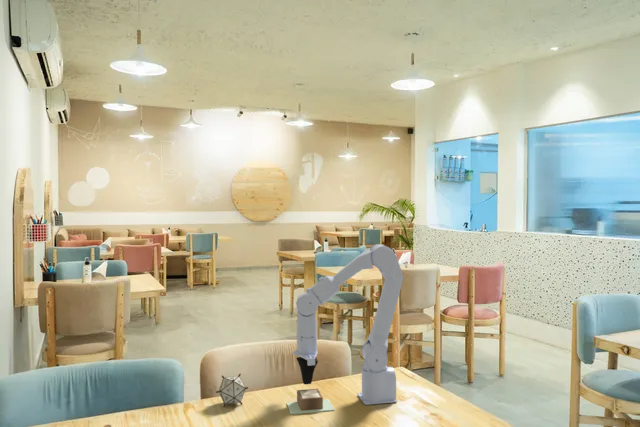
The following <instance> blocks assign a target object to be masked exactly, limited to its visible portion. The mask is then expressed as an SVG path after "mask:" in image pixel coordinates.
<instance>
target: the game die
mask: <svg viewBox="0 0 640 427" xmlns="http://www.w3.org/2000/svg"><path fill="white" fill-rule="evenodd" d="M241 375H242V374H241V372H240V373H239V374H238V375H236V376H235V375H234V376H224V375H221V378H222V379H221V384H220V386H219V389H218V390H216V391H215V393H216V394H218V395H220V398H221V400H222V402H223V403H224V404H223V408H224V407H226V405H232V404H238V403H239V404H240V405H243V402H242V400H243V397H244V395H245V393H246V390H248V389H249V387H248V386H245V384H244V382H243V380H242V379H241Z"/></svg>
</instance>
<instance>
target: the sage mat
mask: <svg viewBox="0 0 640 427" xmlns="http://www.w3.org/2000/svg"><path fill="white" fill-rule="evenodd" d="M286 405H287V408H288V411H289V413H290V415H298V414H300V415H301V414H310V413H311V414H312V413H321V412H322V413H323V412H332V411H333V412H334V411H335V408H334V406H333V405H332V402H331V401H330V399H328V398H325V399H323V409H314V410H302V411H301V409H300V407H299V405H298V402H297V401H291V402H290V401H289V402H286Z"/></svg>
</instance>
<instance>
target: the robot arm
mask: <svg viewBox="0 0 640 427" xmlns="http://www.w3.org/2000/svg"><path fill="white" fill-rule="evenodd" d="M374 266H375V268H377V269H378V270H379V272H380V274H381V275H382V278H384V281H383V286H382V289H381V294H380V297H379V301H378V303H377V304H378V305H377V308H376V312H375V316H374V319H373V323H372V327H371V331H370V333H369V334H368V336H367V339H366V341H365V343H363V345H362V347H361V356H362V358H363V359H364V361H363V363H362V365H361V392H358V393H357V397H358V398H359V399H360V400H361V401H362V403H363V404H364V405H365V406H366V405H367V406H370V405H380V404H390V403H397V402H398V400H397V377H396V376H397V375H396V371H395V368H393V366H388V362H389V361H388V360H389V359H388V354H387V353H388V348H389V343H388V342H389V334H390V330H391V327H392V323H393V319H394V316H395V312H396V309H397V305H398V304H397V303H398V299H399V297H400V292H401V288H402V285H403V281H404V275H403V272H402V269H401V265H400V263H399V257H398V256H397V254H396V253H395V252H394V251H393V250H392V249H391V247H389V246H387V245H384V244H381V243H377V244H374V245H372V246H371V247H370V248H369V249H368V248H367V249H366V250H363V252H361V253H360V254H358V255H357V256H356V257H355V258H353V259H352V260H351V261H350V262H349V263H347V264H346V265H345V266H344V267H343V268H341V269H340V270H339V271H337V273H336V274H333V276H332V275H326V276H324V277H323V276H321V277H319V278H318V280H319V281H318V282H316V283H315V284H314V285H312V286H311V287H310V288H309V287H307V288H306V289H305V292H303V293H300V294H299V295H298V297H297V299H296V302H295V305H296V310H297V313H296V316H297V317H296V350H293V351H292V355H293V356H298V357H296V361H297V362H298V365H299V370H300V374H301V379H302V383H303V385H311V384H312V381H313V376H314V372H315V369H316V367H317V365H318V364H319V360H318V359H317V355H318V353H319V351H318V333H317V332H318V328H317V327H318V324H317V323H318V322H317V321H318V319H317V316H316V314H317V310H318V309H319V308H318V307H319V306H322V305H324V304H325V303H326V302H328V301H329V300H331V298H333V297H334V296H335V295H337V294H338V293H339V291H340V286H341V285H342V284H343V283H345V282H347V281H348V280H350V278H352V277H354V276H355V275H357V274H358V273H359V272H361V271H362V270H370V269H372V270H373V269H374Z"/></svg>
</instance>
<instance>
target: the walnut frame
mask: <svg viewBox="0 0 640 427" xmlns="http://www.w3.org/2000/svg"><path fill="white" fill-rule="evenodd" d="M323 400H324V397H323V395H322V394H321V392H320V390H319V389H318V388H311V389H310V388H309V389H297V390H296V402H298V405H299V407H300V409H301V411H302V410H314V409H323Z"/></svg>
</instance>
